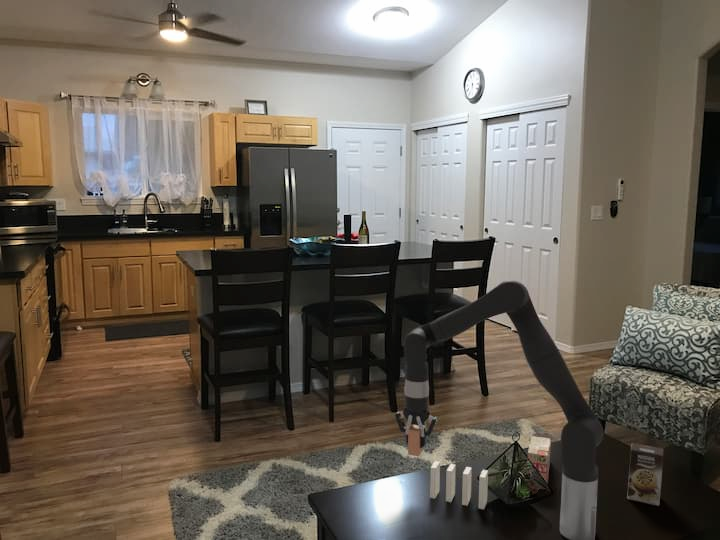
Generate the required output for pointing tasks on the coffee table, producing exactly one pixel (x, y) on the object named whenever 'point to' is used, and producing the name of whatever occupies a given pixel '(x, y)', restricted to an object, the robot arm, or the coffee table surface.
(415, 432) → the domino
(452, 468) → the domino
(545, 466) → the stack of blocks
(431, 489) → the domino
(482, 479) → the domino
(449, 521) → the coffee table surface
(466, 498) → the domino
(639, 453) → the brown cookie box
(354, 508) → the coffee table surface
